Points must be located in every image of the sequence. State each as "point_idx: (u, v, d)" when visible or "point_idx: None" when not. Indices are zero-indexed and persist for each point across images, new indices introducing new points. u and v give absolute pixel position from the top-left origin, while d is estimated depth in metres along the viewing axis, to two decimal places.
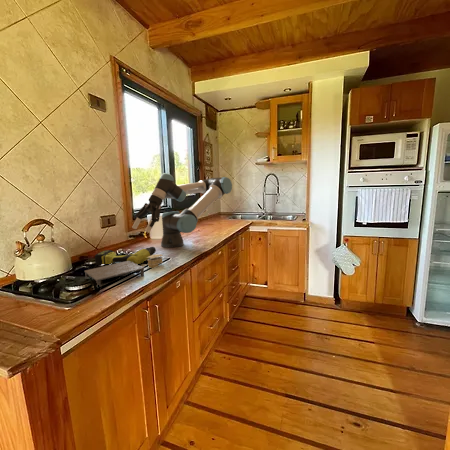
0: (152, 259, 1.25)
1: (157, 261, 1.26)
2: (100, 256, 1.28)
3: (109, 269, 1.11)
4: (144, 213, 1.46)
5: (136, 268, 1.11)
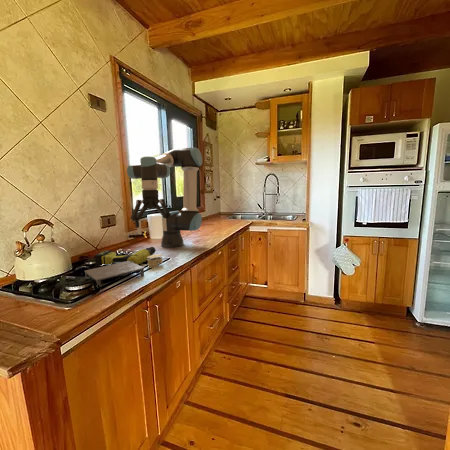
0: (152, 259, 1.25)
1: (157, 261, 1.26)
2: (100, 256, 1.27)
3: (109, 269, 1.11)
4: None
5: (136, 268, 1.11)
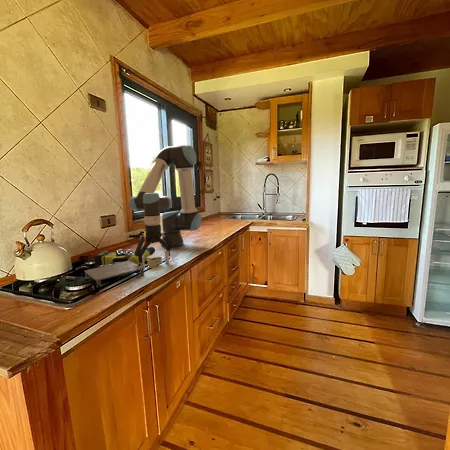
0: (151, 259, 1.25)
1: (156, 261, 1.26)
2: (100, 257, 1.26)
3: (109, 269, 1.11)
4: None
5: (136, 268, 1.11)
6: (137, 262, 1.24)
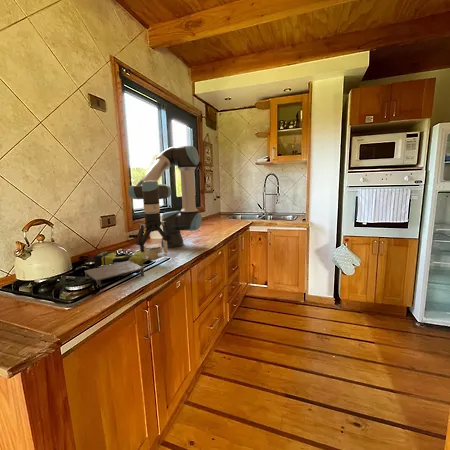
0: (151, 249, 1.25)
1: (156, 251, 1.26)
2: (100, 257, 1.25)
3: (109, 269, 1.11)
4: None
5: (136, 268, 1.11)
6: (138, 262, 1.24)
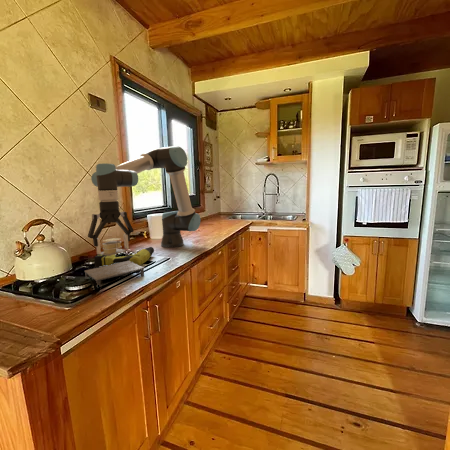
0: (108, 243, 1.08)
1: (114, 246, 1.09)
2: (100, 258, 1.25)
3: (109, 269, 1.11)
4: None
5: (136, 268, 1.11)
6: (139, 262, 1.24)
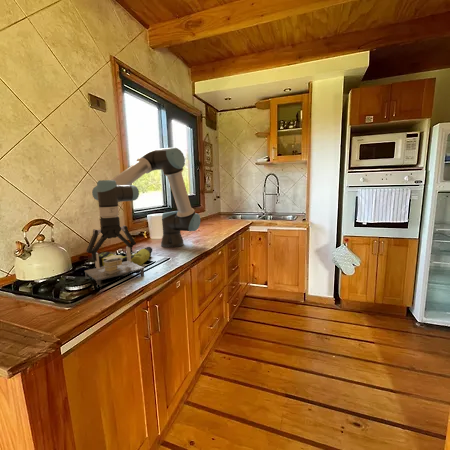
0: (109, 261, 1.09)
1: (115, 263, 1.10)
2: (100, 258, 1.24)
3: None
4: None
5: (136, 268, 1.11)
6: (141, 261, 1.25)
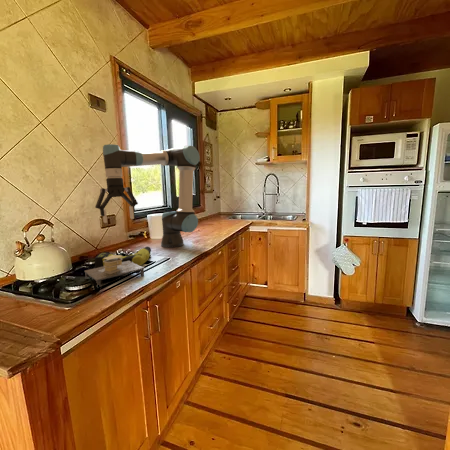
0: (109, 261, 1.09)
1: (115, 263, 1.10)
2: (101, 258, 1.23)
3: None
4: None
5: (136, 268, 1.11)
6: (142, 261, 1.26)
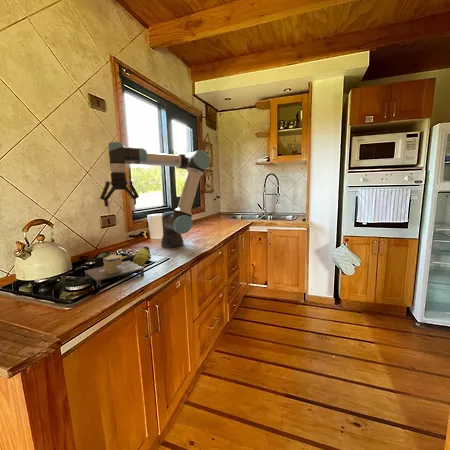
0: (109, 261, 1.09)
1: (115, 263, 1.10)
2: (102, 259, 1.22)
3: None
4: None
5: (136, 268, 1.11)
6: (144, 261, 1.26)
